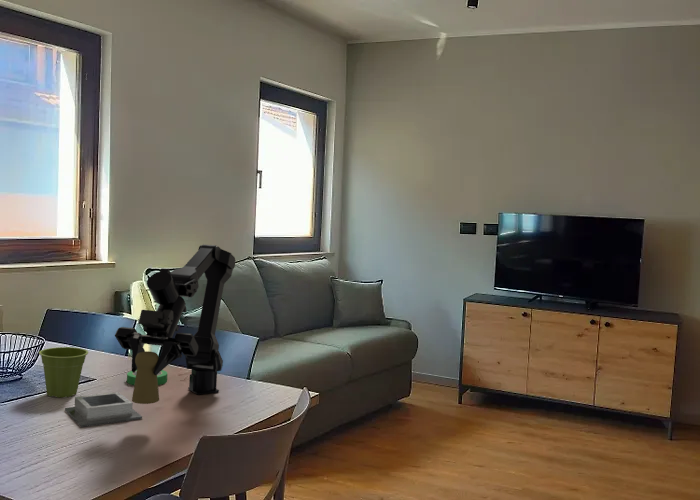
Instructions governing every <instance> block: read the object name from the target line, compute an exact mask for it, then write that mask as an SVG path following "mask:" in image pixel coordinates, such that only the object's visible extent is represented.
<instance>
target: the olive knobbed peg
mask: <svg viewBox="0 0 700 500" xmlns="http://www.w3.org/2000/svg"><path fill="white" fill-rule="evenodd" d="M159 357H160V355H158V354H157V352H155V351H147V350H145V352H140V353H138V354H137V355H136V358H135V363H136V366H137V373H136V379H135V385H133V393H132V399H131V402H132V403H135V404H140V405H149V404H154V403H157V402H159V401H160V394H159V393H160V392H159V385H158V381H157V375H154V373H153V372H154V369H155V366H156V364H157V362H158V359H159Z"/></svg>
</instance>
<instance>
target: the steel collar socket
mask: <svg viewBox="0 0 700 500" xmlns="http://www.w3.org/2000/svg"><path fill="white" fill-rule="evenodd" d="M133 403H134V402H132V400H129V399H128V398H127V397H126V396H125V395H123V394H122V393H120V391H115V392H107V393H98V394H89V395H80V396H75V397H74V406H72V407H64V412H66V413H67V415H68V416H70V418H71V419H72V420H73V421H74V422H75V423H76V424H77V425H78V426H80V428H88V427H94V426H99V425H100V426H101V425H110V424H114V423H122V422H129V421H137V420H142V419H143V416H142V415H141V414H140V413H139V412H138V411H136V410H135V409H133Z"/></svg>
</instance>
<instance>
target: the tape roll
mask: <svg viewBox="0 0 700 500" xmlns="http://www.w3.org/2000/svg"><path fill="white" fill-rule="evenodd" d="M136 373H137V370H136V371H135V373H133V372H132V370H130V371H128V372H127V373H126V383H127V384H128V385H131V386H134V385H135V379H136ZM157 381H158V386H162V385H165V384H167V383H168V372H167V371H166V370H164V369H163V370H162V371H160V372H159V373H158V374H157Z"/></svg>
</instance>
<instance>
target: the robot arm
mask: <svg viewBox="0 0 700 500" xmlns="http://www.w3.org/2000/svg"><path fill="white" fill-rule="evenodd" d="M197 249H198V250H197V251H196V252H195V254H193V256H192V257H191V258H190V259H189V260H188V261H187V263H185V265H184V266H182V267H180V268H176V269H173V270H170V268H160V271H158V272H156V273H153V274H152V275H151V276H150V277H148V278H147V280H146V286H147V288H148V290H149V292H150V294H151V296H152V297H153V300H154V302H155V303H156V304H158V306H157V309H156V310H151V309H150V310H149V309H141V310H140V311H141V312H140V316H139V317H138V318H139V319H138V323H137V324H139V325H142V326H143V327H142V330H143V332H144V333H146V334H141V333H140V332H138V331H137V329H136V328H135V327H128V326H127V327H126V326H121V327H120V326H119V328H117V330H116V332H115V334H114V337H115V339H116V340H117V342H118V343H119V345H120V347H121V348H122V349H124V350H131V371H132V372H133V373H135V371H136V370H137V366H136V363H135V358H136V355H137V354H138V353H140V352H146V350H145V348H144V346H145V345H151V346H159V347H161V346H162V350H161V353H160V355H159V359H158V362H157V364H156V366H155V369H154V372H153V373H154V375H157V374H158V373H159V372H160V371H162V370H164V369H165V368H166V367H168V365H170V364H172V363H173V362H174V361H176V360H177V359H178V358H179V359H181V358H182V357H183V356H184V357H185V364H186V370H191V373H190V374H189V383H188V384H189V386H188V388H187V389H188V390H189V391H191V392H192V393H194V394H196V395H199V396H200V395H205V394H207V395H208V394H214V393H219V392H220V389H217V383H218V382H217V381H218V372H219V371H220V372H221V371H222V370H223V366H224V365H223V363H224V359H223V358H222V356H221V353H220V351H219V348H220V345H219V342H218V339H217V337H216V330H217V326H218V325H217V324H218V320H219V314H220V308H221V301H222V297H223V293H224V292H223V291H224V286H225V284H226V283H227V282H228V281H229V280H230V278H231V277H232V275H233V271H234V268H236V258H235V256H234V255H233V254H232V252H230V251H228V250H224V249H223V248H221V247H220V246H217V245H216V244H204V243H203V244H200V245H199V246H198V248H197ZM203 275H204V276H205V278H206V285H205V290H204V295H203V301H202V306H201V312H200V317H199V322H198V327H197V328H198V329H197V331H196V332H195V334H193V333H186V332H178V331H179V329H180V328H179V327H180V326H179V325H178V324H179V321H180V319H181V317H182V315H183V313H187V312H188V311H187V307H186V306H187V305H186V304H187V303H186V301H185V299H184V298H192V297H194V296H195V294H196V293H197V292H198V289H199V288H200V286H199V280H200V278H201V277H202V276H203ZM175 332H177V333H175ZM174 334H175V336H174ZM173 336H174V337H173Z"/></svg>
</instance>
